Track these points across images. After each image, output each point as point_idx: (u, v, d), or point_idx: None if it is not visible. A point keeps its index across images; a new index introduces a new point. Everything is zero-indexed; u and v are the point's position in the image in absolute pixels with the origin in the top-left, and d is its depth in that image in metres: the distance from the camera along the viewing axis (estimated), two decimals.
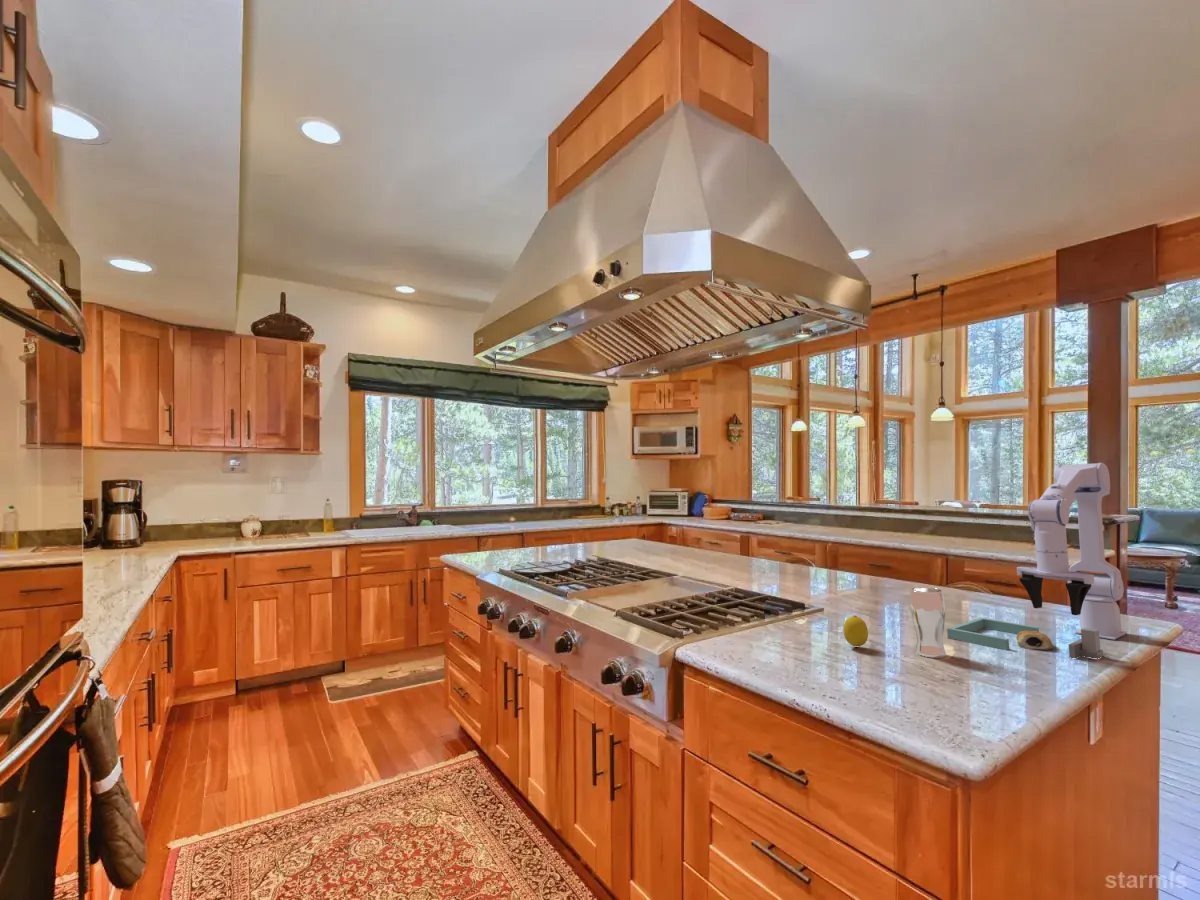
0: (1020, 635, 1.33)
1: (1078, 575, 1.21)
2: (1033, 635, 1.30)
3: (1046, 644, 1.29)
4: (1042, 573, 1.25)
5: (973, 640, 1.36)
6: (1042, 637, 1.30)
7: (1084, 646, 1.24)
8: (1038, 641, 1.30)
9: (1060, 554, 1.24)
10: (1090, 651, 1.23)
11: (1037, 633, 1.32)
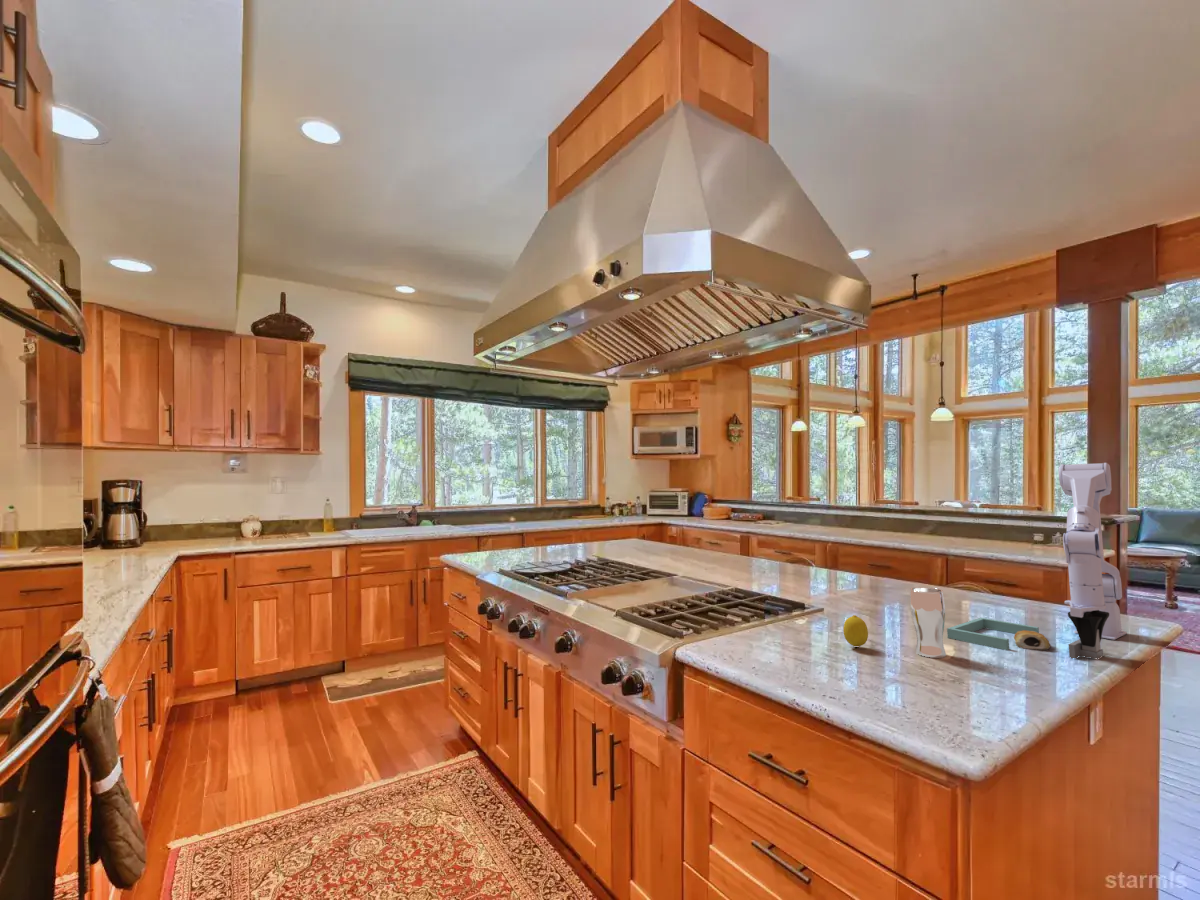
0: (1018, 635, 1.33)
1: None
2: (1031, 635, 1.30)
3: (1044, 644, 1.29)
4: None
5: (973, 640, 1.36)
6: (1040, 637, 1.30)
7: (1084, 646, 1.24)
8: (1036, 641, 1.30)
9: (1074, 585, 1.25)
10: (1090, 651, 1.23)
11: (1035, 633, 1.32)
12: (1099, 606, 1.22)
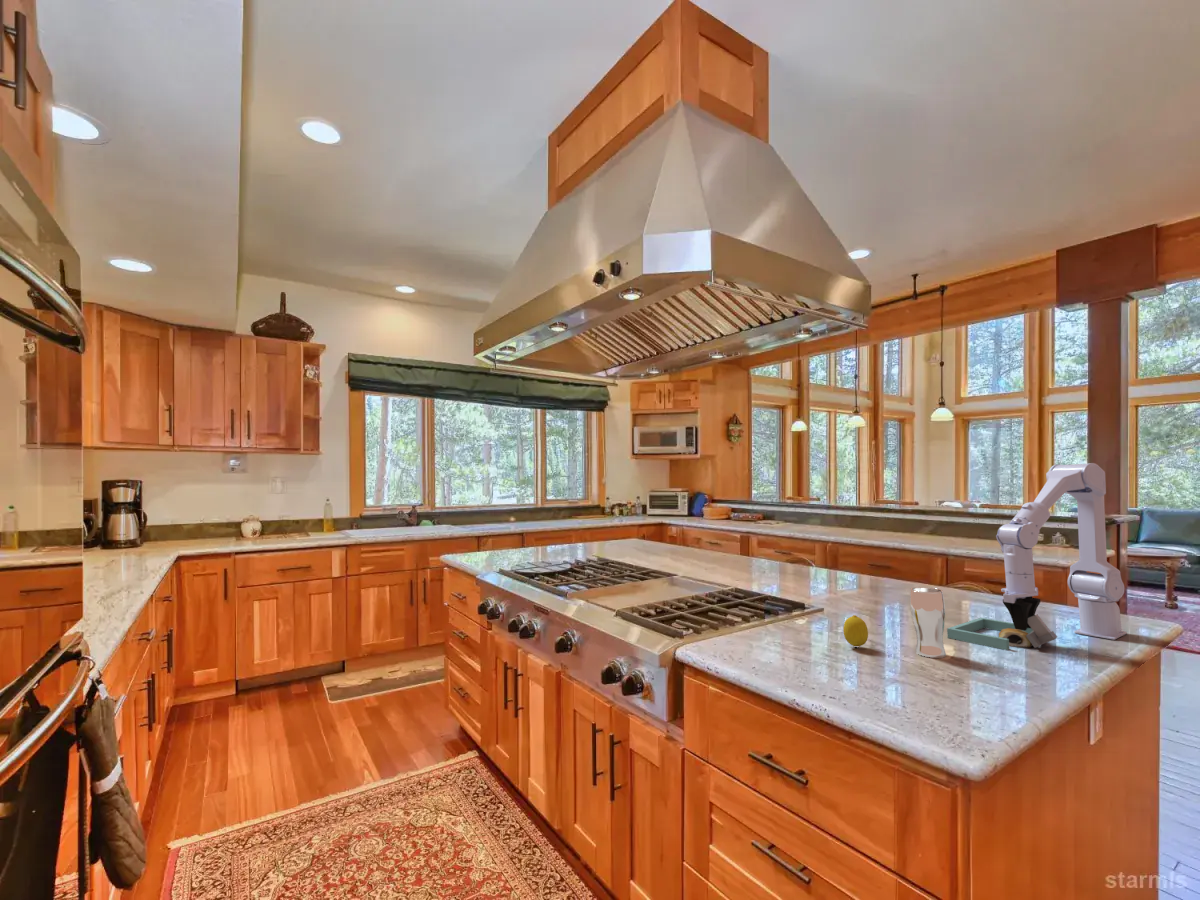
0: (1002, 633, 1.35)
1: (1005, 593, 1.33)
2: (1014, 633, 1.33)
3: (1026, 641, 1.31)
4: None
5: (973, 640, 1.36)
6: (1022, 635, 1.32)
7: (1038, 633, 1.31)
8: (1018, 639, 1.32)
9: (1008, 574, 1.36)
10: (1044, 635, 1.30)
11: (1018, 631, 1.34)
12: (1030, 593, 1.32)
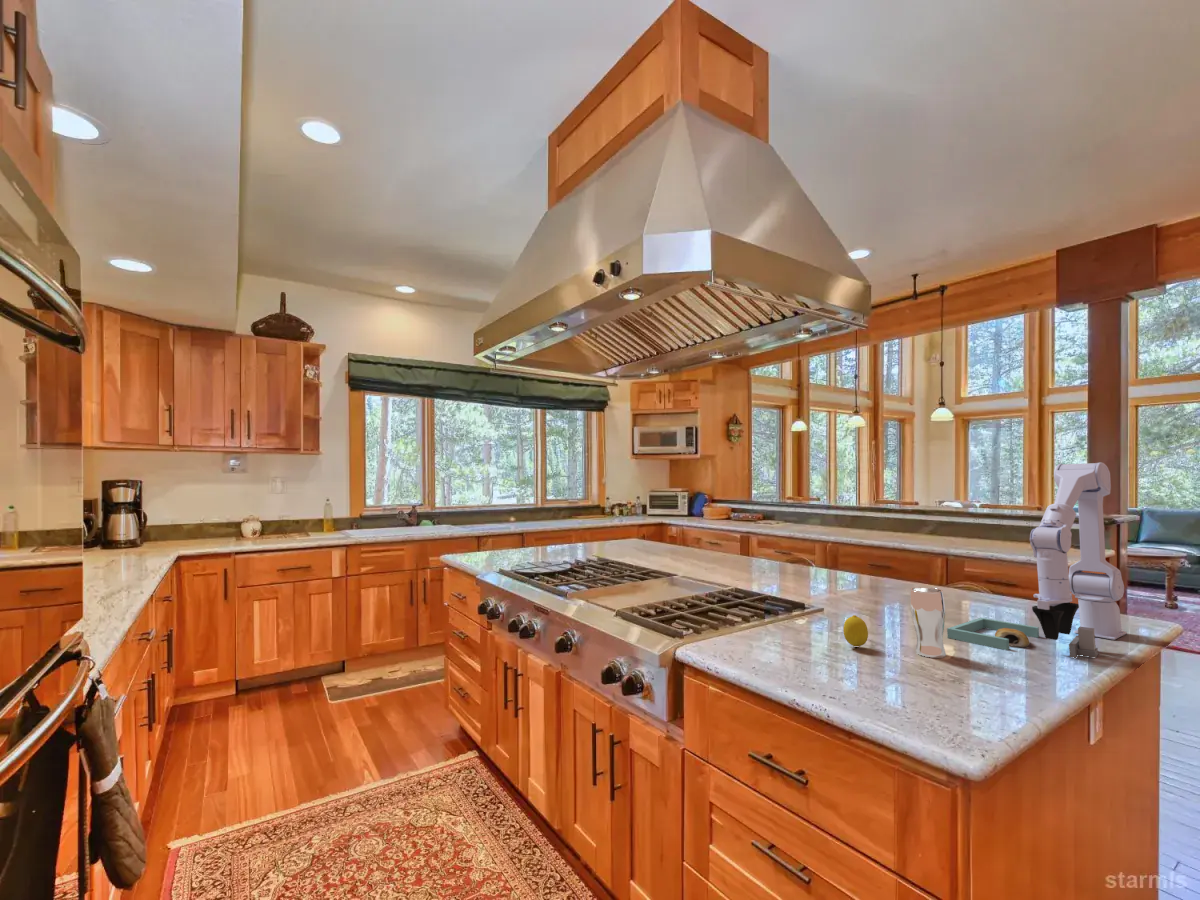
0: (998, 632, 1.36)
1: None
2: (1010, 632, 1.33)
3: (1023, 641, 1.31)
4: None
5: (973, 640, 1.36)
6: (1019, 634, 1.32)
7: (1081, 645, 1.25)
8: (1015, 639, 1.33)
9: (1041, 579, 1.30)
10: (1088, 650, 1.24)
11: (1015, 630, 1.34)
12: (1065, 599, 1.27)
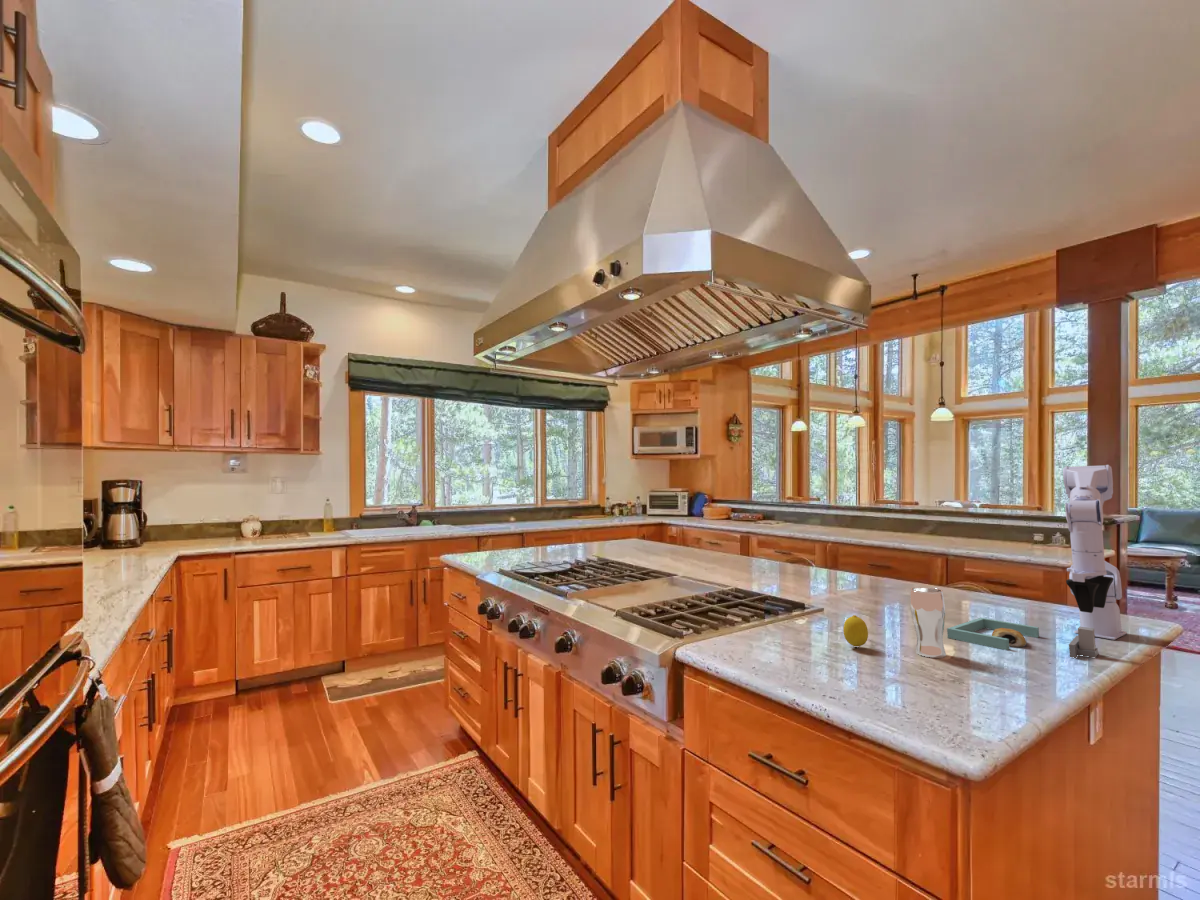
0: (995, 632, 1.36)
1: None
2: (1008, 632, 1.33)
3: (1020, 641, 1.32)
4: None
5: (973, 640, 1.36)
6: (1016, 634, 1.32)
7: (1081, 645, 1.25)
8: (1012, 638, 1.33)
9: (1076, 552, 1.29)
10: (1088, 650, 1.24)
11: (1011, 630, 1.35)
12: (1100, 572, 1.26)
